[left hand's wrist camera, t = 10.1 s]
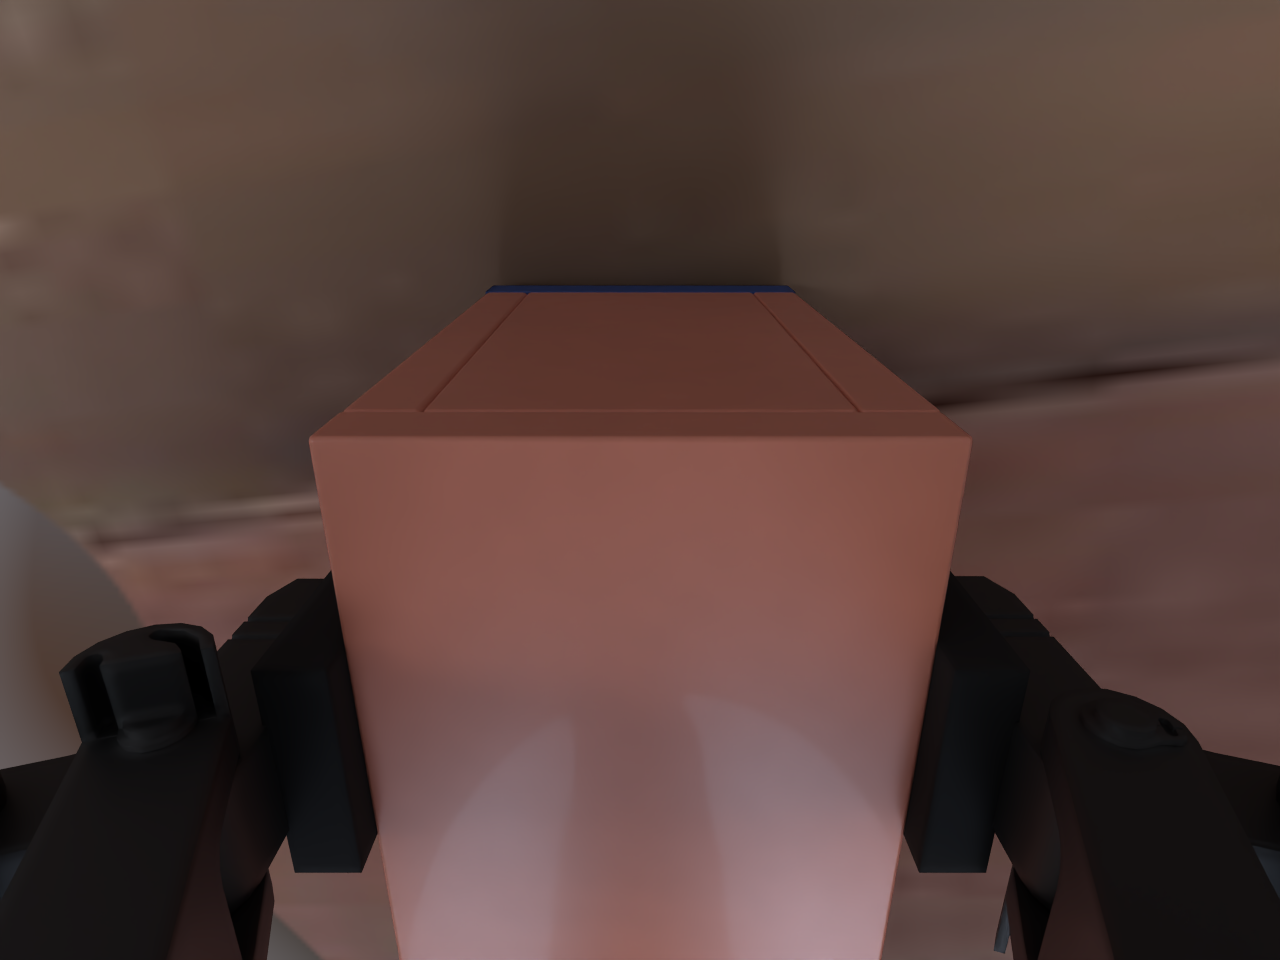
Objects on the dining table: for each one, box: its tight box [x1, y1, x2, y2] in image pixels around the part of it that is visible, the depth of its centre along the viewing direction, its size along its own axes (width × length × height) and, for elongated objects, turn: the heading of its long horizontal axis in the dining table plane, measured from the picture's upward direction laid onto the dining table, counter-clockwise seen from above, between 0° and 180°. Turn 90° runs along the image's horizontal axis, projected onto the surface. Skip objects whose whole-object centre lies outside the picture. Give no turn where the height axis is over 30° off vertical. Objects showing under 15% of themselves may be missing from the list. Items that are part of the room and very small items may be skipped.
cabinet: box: [309, 286, 973, 960], centre depth 15 cm, size 16×6×10 cm, turn 0°
